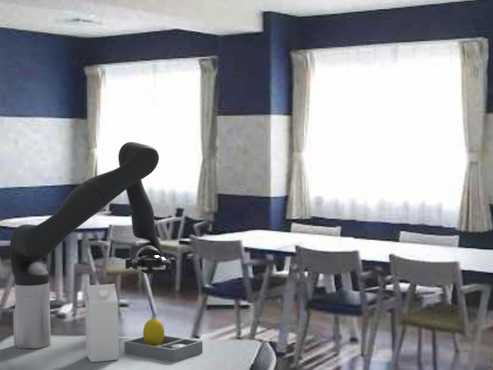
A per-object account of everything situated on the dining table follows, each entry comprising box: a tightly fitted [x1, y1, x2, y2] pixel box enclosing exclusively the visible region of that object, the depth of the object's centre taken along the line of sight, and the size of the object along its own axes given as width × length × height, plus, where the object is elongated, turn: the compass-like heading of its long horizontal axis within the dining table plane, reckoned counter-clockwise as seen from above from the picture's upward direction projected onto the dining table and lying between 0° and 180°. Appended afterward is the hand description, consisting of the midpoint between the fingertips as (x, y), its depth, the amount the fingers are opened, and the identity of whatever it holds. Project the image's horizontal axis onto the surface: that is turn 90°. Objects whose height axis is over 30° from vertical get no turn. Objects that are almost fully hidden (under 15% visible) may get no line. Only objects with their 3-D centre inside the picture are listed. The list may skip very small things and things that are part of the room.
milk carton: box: [84, 283, 120, 363], centre depth 213 cm, size 7×7×19 cm
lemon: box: [142, 317, 165, 346], centre depth 220 cm, size 6×6×8 cm
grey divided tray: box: [123, 334, 204, 363], centre depth 219 cm, size 17×12×3 cm
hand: (151, 266), depth 229 cm, fingers open, 8 cm apart
